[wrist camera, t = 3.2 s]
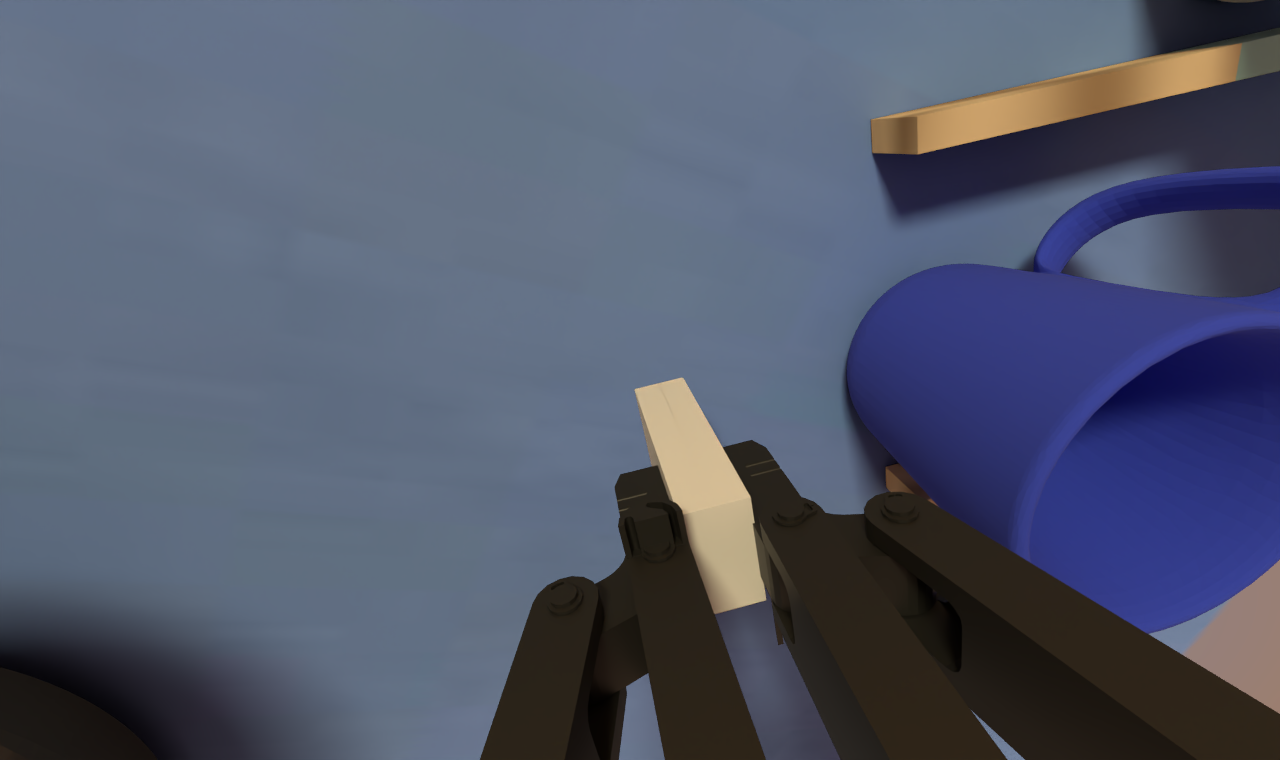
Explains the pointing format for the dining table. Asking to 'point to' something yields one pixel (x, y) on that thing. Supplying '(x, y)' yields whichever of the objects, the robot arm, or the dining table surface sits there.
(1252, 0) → the supplement tub
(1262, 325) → the mug
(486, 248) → the dining table surface
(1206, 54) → the flange rails
